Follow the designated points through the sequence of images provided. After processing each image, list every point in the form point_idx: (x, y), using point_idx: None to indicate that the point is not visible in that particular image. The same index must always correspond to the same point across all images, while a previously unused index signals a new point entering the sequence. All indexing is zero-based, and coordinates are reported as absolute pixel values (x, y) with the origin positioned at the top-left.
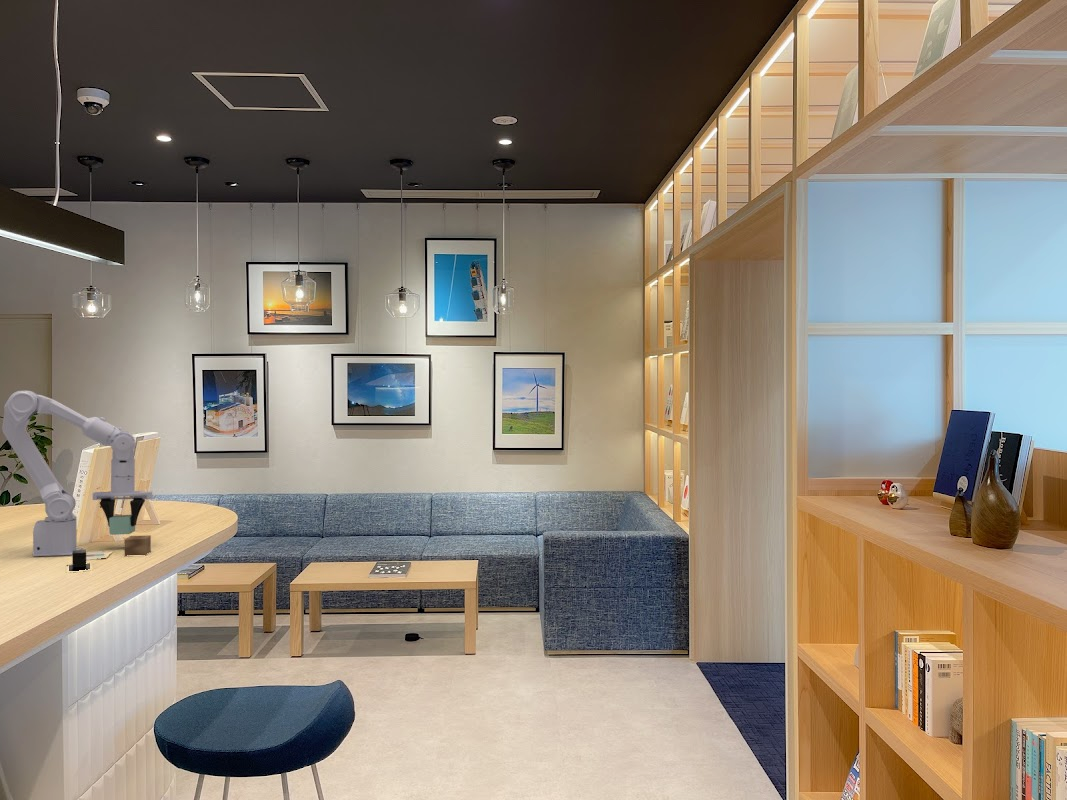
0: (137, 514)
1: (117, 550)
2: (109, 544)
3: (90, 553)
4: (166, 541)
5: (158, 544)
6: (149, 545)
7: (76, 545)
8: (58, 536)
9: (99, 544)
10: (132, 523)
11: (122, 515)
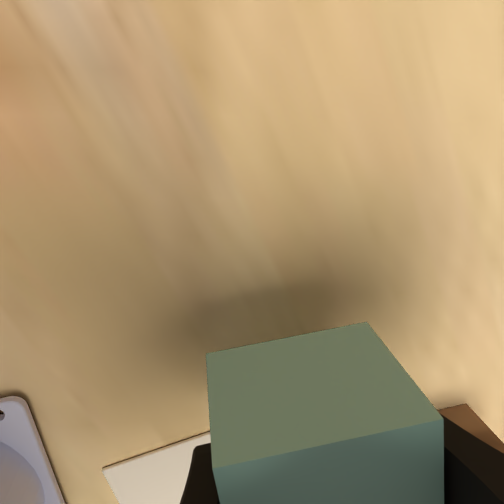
0: (492, 465)
1: None
2: (100, 207)
3: (161, 493)
4: (482, 84)
5: (455, 200)
6: None
7: (21, 488)
8: None
9: (17, 209)
10: None
11: (314, 480)
